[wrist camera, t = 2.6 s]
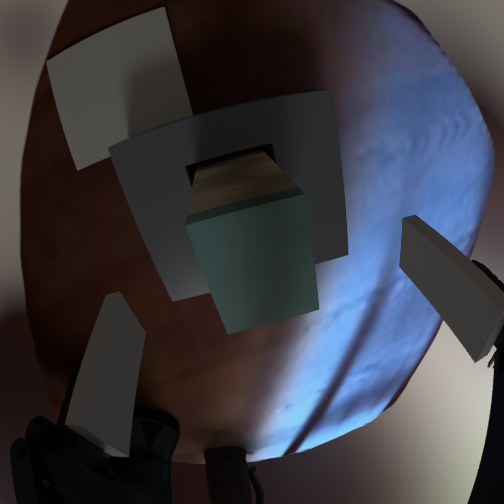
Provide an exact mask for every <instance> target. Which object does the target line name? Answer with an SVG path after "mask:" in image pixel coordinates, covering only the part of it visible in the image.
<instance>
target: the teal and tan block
mask: <svg viewBox="0 0 504 504" xmlns="http://www.w3.org/2000/svg"><path fill="white" fill-rule="evenodd" d="M185 227H186V230H187V232H188V235H189V238H190V240H191V243H192V246H193V248H194V251H195V254H196V256H197V259H198V262H199V264H200V267H201V269H202V272H203V274H204V277H205V280H206V282H207V285H208V287H209V290H210V292H211V295H212V297H213V300H214V302H215V304H216V307H217V309H218V312H219V314H220V317H221V319H222V321H223V324H224V326H225V328H226V331H227V333H228V334H229V333H234V332H238V331H242V330H246V329H250V328H254V327H258V326H262V325H266V324H269V323H273V322H277V321H280V320H284V319H288V318H291V317H295V316H298V315H302V314H305V313H309V312H312V311H316V310H319V301H318V291H317V282H316V273H315V264H314V256H313V248H312V240H311V233H310V225H309V218H308V211H307V205H306V198H305V194H304V193H303V192H302V190H301V189H300V188H299V187H298V186H297V185H296V184H295V183H294V182H293V181H292V180H291V179H290V178H289V177H288V176H287V175H286V174H285V172H284V171H283V170H282V169H281V168H280V167H279V166H278V165H277V164H276V163H275V162H274V161H273V160H272V159H271V158H270V157H269V156H268V155H267V154H266V153H265V152H264V151H263V150H262V149H261V148H260V147H259V146H257V147H253V148H249V149H245V150H241V151H237V152H233V153H229V154H225V155H222V156H218V157H214V158H211V159H207V160H204V161H200V162H197V167H196V172H195V176H194V181H193V186H192V191H191V196H190V201H189V207H188V212H187V218H186V223H185Z"/></svg>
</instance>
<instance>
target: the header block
mask: <svg viewBox="0 0 504 504" xmlns="http://www.w3.org/2000/svg"><path fill="white" fill-rule="evenodd" d="M257 146H262V150H263V151H264V152H265V153H266V154H267V155H268V156H269V157H270V158H271V159H272V160H273V161H274V162H275V163H276V164H277V165H278V166H279V167H280V168H281V169H282V170H283V171H284V172H285V174H286V175H287V176H288V177H289V178H290V179H291V180H292V181H293V182H294V183H295V184H296V185H297V186H298V187H299V188H300V189H301V190H302V192H303V193H304V194H305V198H306V205H307V211H308V218H309V225H310V233H311V240H312V248H313V256H314V264H318V263H321V262H325V261H328V260H332V259H335V258H339V257H342V256H346V255H348V236H347V220H346V207H345V195H344V185H343V175H342V166H341V158H340V150H339V143H338V136H337V129H336V123H335V116H334V110H333V105H332V99H331V94H330V90H310V91H300V92H293V93H287V94H281V95H275V96H270V97H264V98H259V99H255V100H250V101H245V102H241V103H236V104H232V105H228V106H224V107H220V108H216V109H212V110H209V111H205V112H201V113H198V114H195V115H192V116H188V117H185V118H182V119H179V120H175V121H172V122H169V123H166V124H163V125H160V126H157V127H155V128H152V129H149V130H146V131H143V132H141V133H138V134H136V135H133V136H130V137H128V138H126V139H124V140H122V141H120V142H118V143H116V144H114V145H112V146H110V147H108V150H109V153H110V156H111V159H112V162H113V165H114V167H115V170H116V173H117V176H118V178H119V181H120V184H121V186H122V189H123V192H124V194H125V197H126V199H127V202H128V204H129V207H130V209H131V212H132V214H133V217H134V219H135V221H136V224H137V226H138V228H139V231H140V233H141V235H142V238H143V240H144V242H145V245H146V247H147V249H148V251H149V253H150V256H151V258H152V260H153V262H154V264H155V266H156V269H157V271H158V273H159V275H160V277H161V279H162V281H163V283H164V285H165V287H166V289H167V291H168V293H169V295H170V297H171V299H172V301H177V300H181V299H185V298H189V297H193V296H197V295H201V294H205V293H209V292H210V290H209V287H208V285H207V282H206V280H205V277H204V274H203V272H202V269H201V267H200V264H199V262H198V259H197V256H196V254H195V251H194V248H193V246H192V243H191V240H190V238H189V235H188V232H187V230H186V227H185V223H186V218H187V212H188V207H189V201H190V196H191V191H192V186H193V181H194V176H195V172H196V167H195V164H194V163H197V162H200V161H204V160H207V159H211V158H214V157H218V156H222V155H225V154H229V153H233V152H237V151H241V150H245V149H249V148H253V147H257Z"/></svg>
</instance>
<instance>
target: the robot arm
mask: <svg viewBox="0 0 504 504" xmlns="http://www.w3.org/2000/svg"><path fill="white" fill-rule="evenodd" d="M399 267H400V268H401V269H402V270H403V271H404V273H405V274H406V275H407V276H408V277H409V278H410V279H411V281H412V282H413V283H414V284H415V285H416V286H417V288H418V289H419V290H420V291H421V292H422V294H423V295H424V296H425V297H426V298H427V300H428V301H429V302H430V303H431V305H432V306H433V307H434V308H435V310H436V311H437V312H438V313H439V315H440V316H441V317H442V318H443V320H444V321H445V322H446V324H447V325H448V326H449V327H450V329H451V330H452V331H453V333H454V334H455V335H456V337H457V338H458V340H459V341H460V342H461V344H462V345H463V346H464V348H465V349H466V350H467V352H468V353H469V355H470V356H471V358H472V359H473V360H474V362H475V363H476V362H477V361H479V360H480V359H482V358H483V357H485V356H486V355H488V353H489V352H490V350H491V348H492V346H493V344H494V346H495V347H496V348H497V350H496V352H495V353H494V355H493V356H492V358H491V360H490V361H489V363H488V367H490V366H491V365H492V363H493V361H494V366H493V368H494V378H493V391H492V401H491V409H490V416H489V423H488V429H487V435H486V440H485V445H484V449H483V453H482V457H481V461H480V465H479V469H478V473H477V476H476V480H475V483H474V486H473V489H472V492H471V495H470V498H469V501H468V503H467V504H504V284H503V282H501V281H500V280H498V278H497V277H496V276H495V275H494V274H492V272H491V271H490V270H489V269H488V268H487V267H486V266H485V265H483V264H481V263H479V262H478V261H476V260H472V261H471V260H469V259H468V258H467V257H466V256H465V255H464V254H463V253H462V252H460V251H459V250H458V249H457V248H456V247H455V246H454V245H452V244H451V243H450V242H449V241H448V240H446V239H445V238H444V237H443V236H442V235H440V234H439V233H438V232H437V231H435V230H434V229H433V228H432V227H430V226H429V225H428V224H427V223H425V222H424V221H423V220H421V219H420V218H419V217H418V216H416V215H412V216H408V217H405V218H403V219H402V238H401V252H400V263H399ZM145 335H146V333H145V331H144V330H143V328H142V326H141V325H140V323H139V322H138V320H137V319H136V317H135V315H134V314H133V312H132V311H131V309H130V307H129V306H128V304H127V303H126V301H125V299H124V298H123V296H122V294H121V292H116V293H112V294H108V295H106V297H105V300H104V302H103V305H102V307H101V310H100V312H99V315H98V318H97V320H96V323H95V326H94V328H93V331H92V334H91V337H90V340H89V342H88V345H87V348H86V351H85V354H84V357H83V360H82V363H81V365H77V366H76V368H75V369H74V371H73V372H72V374H71V376H70V379H69V382H68V388H67V389H66V392H65V395H66V396H64V400H63V403H62V407H61V411H60V415H59V419H58V423H57V426H56V425H54V424H53V423H52V422H50V421H49V420H48V419H46V418H45V417H43V416H37V417H35V418H33V419H32V420H31V421H30V422H29V424H28V426H27V428H26V433H25V434H26V439H24V438H18V439H17V440H15V441H14V442H13V444H12V447H11V450H10V458H11V468H12V477H13V484H14V490H15V495H16V500H17V504H173V502H172V483H171V482H172V480H171V459H172V456H173V453H174V451H175V448H176V445H177V443H178V440H179V437H180V426H179V424H178V422H177V421H175V420H174V419H173V418H171V417H169V416H167V415H165V414H163V413H160V412H157V411H154V410H150V409H146V408H140V407H134V403H135V395H136V388H137V381H138V375H139V369H140V363H141V357H142V351H143V345H144V340H145ZM103 451H105V452H106V453H108V454H110V455H111V457H110V459H109V458H106V457H103Z"/></svg>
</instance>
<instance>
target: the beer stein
mask: <svg viewBox="0 0 504 504" xmlns="http://www.w3.org/2000/svg"><path fill="white" fill-rule="evenodd" d="M204 458H205V461H206V463H205V467H206V478H207V484H208V494H209V499H210V502H211V504H252V499H251V498H252V492H251V485H250V481H251V483H252V485H253V488H254V491H255V494H256V504H263V503H264V493H263V490H262V487H261V485H260V483H259V481H258V479H257V477H256V475H255V472H256V467H255V466H252V467H248V465H247V462H246V452H245V451H244V450H242V449H239V448H232V447H231V448H216V449H212V450H209V451H207V452H206V453H205V454H204Z"/></svg>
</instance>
